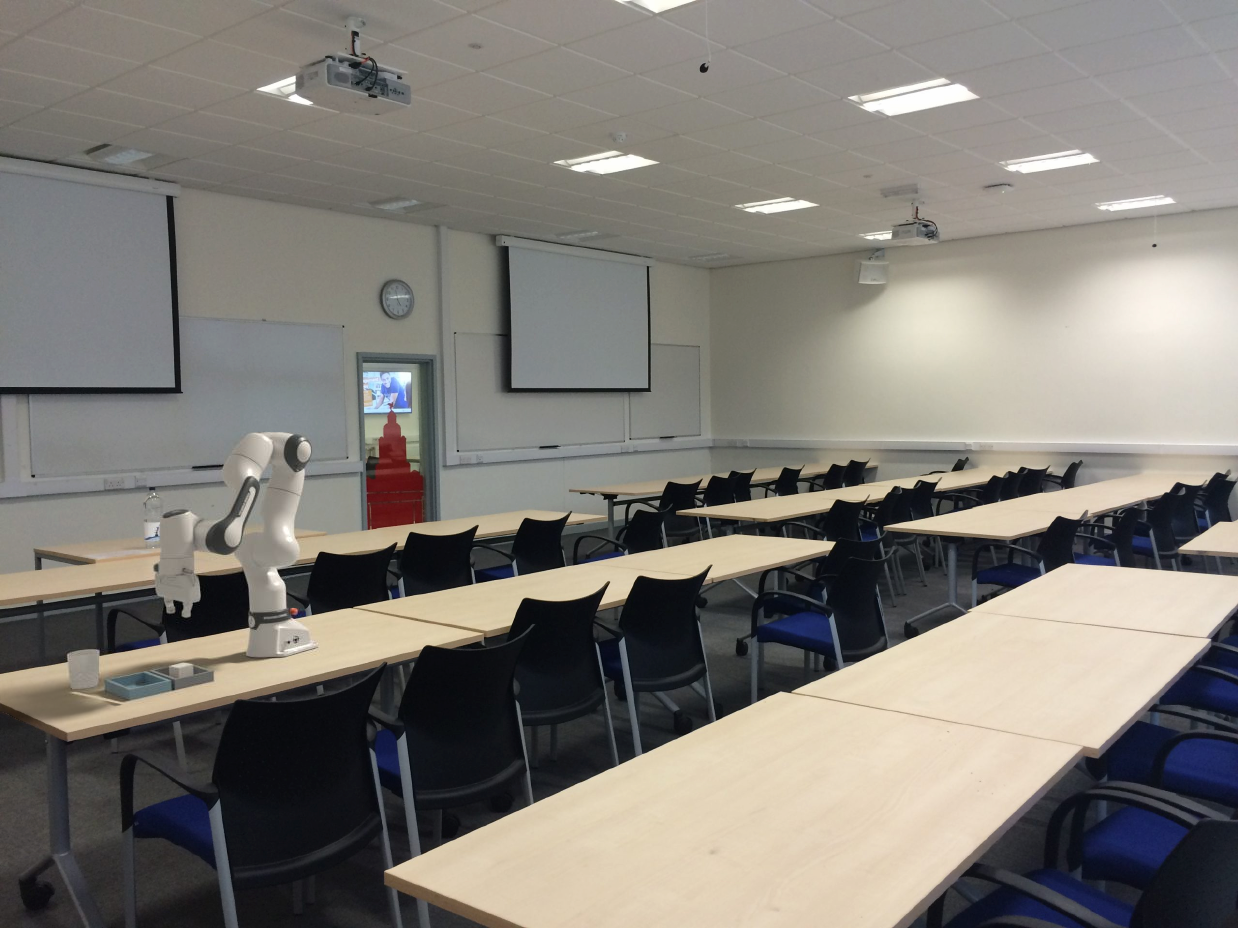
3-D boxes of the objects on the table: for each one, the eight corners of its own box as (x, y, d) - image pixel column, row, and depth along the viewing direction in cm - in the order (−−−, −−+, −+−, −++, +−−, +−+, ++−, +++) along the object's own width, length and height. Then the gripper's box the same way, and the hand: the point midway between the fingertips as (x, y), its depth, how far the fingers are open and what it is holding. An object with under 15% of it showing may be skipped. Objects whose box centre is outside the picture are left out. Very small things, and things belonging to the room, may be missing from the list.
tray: (187, 673, 272) (187, 662, 271) (214, 682, 261) (213, 670, 261) (149, 682, 263) (149, 670, 263) (175, 691, 253) (174, 679, 253)
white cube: (183, 677, 265) (183, 662, 265) (193, 679, 263) (193, 664, 263) (169, 681, 261) (168, 666, 261) (179, 683, 259) (178, 667, 259)
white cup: (64, 692, 254) (63, 657, 254) (73, 684, 262) (72, 650, 261) (96, 689, 256) (94, 654, 256) (104, 682, 264) (102, 648, 263)
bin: (145, 683, 262) (145, 671, 262) (171, 692, 252) (171, 680, 252) (105, 692, 254) (104, 679, 254) (129, 702, 244) (129, 689, 243)
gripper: (205, 568, 257) (206, 617, 257) (172, 562, 270) (173, 609, 270) (183, 571, 252) (184, 621, 252) (150, 565, 265) (151, 612, 265)
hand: (178, 614), depth 261 cm, fingers open, 8 cm apart
